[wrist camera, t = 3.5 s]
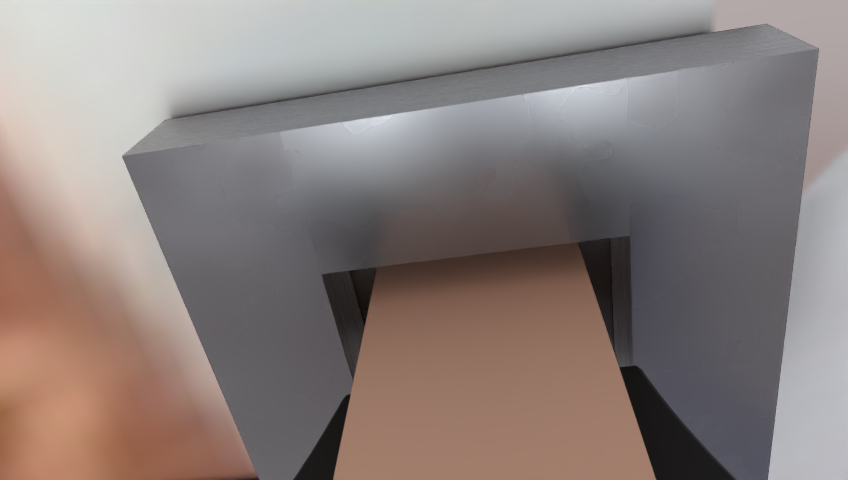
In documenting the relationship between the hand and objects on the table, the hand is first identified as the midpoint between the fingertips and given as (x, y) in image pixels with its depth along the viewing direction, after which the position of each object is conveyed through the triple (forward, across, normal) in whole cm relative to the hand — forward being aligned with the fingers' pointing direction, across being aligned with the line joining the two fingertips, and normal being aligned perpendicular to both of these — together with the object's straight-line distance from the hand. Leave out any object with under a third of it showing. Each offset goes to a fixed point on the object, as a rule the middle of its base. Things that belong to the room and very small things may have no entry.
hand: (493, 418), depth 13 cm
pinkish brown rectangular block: (+3, 0, 0) cm, 3 cm away
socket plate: (+3, 0, 0) cm, 3 cm away
